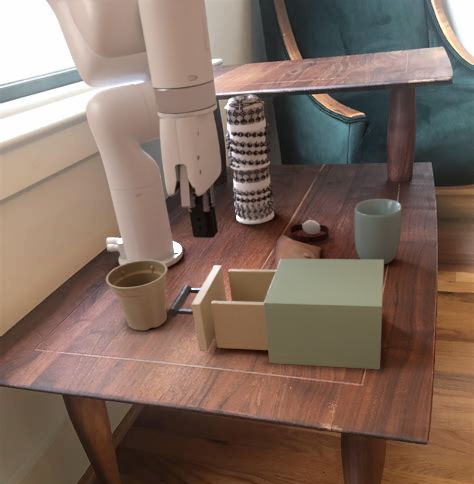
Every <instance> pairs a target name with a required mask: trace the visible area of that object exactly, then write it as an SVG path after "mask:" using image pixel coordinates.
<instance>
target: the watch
mask: <svg viewBox="0 0 474 484" xmlns="http://www.w3.org/2000/svg"><path fill="white" fill-rule="evenodd" d="M329 229H330V228H329V227H328V226H327V225H323V224H319V222H318V221H316V220H313V219H309V220H306V221H305V222H304V223H296V224H293V225H291V226H290V228H289V232H290V237H291V239H292V240H295V241H299V242H302V243H305V244H316V243H323V242H325V241H327V240H328V238H329V237H330V231H329ZM301 231H302V232H305V233H306V234H309V235H310V236H309V235H299V234H296V233H297V232H301ZM320 232H322V233H323V234H320V235H317V234H318V233H320ZM312 235H314V236H312Z"/></svg>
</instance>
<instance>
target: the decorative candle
mask: <svg viewBox="0 0 474 484" xmlns="http://www.w3.org/2000/svg"><path fill="white" fill-rule="evenodd" d="M264 105H265V102H264V101H263V100H261V98H260V97H259V96H258V95H256V94H241V95H235V96H232V97H231V98H229V99H228V101H227V104H226V105H225V106H224V107H223V109H224V110H225V111H226V120H227V121H226V129H227V134H226V135H225V136H224V138H225V141H226V146H225V147H226V149H227V150H228V153H227V156H228V162H229V163H228V165H229V166H230V168H231V169H232V173H233V174H232V175H233V180H232V181H233V187H232V192H233V193H234V194H233V199H234V200H235V201H234V204H233V205H234V208H235V210H234V211H235V212H234V213H235V215H236V221H238V223H240V224H244V225H258V224H262V223H266V222H268V221H270V220H273V218H274V217H275V212H274V211H275V207H274V202H275V201H274V197H272V196H274V192H273V190H272V188H273V183H272V182H271V176H270V174H269V173H270V171H269V165H270V164H271V157H269V156H268V155H269V153H271V148H270V147H269V145H270V144H271V141H270V140H269V139H267V138H266V137H267V136H269V135H270V134H271V132H270V130H269V129H267V128H268V127H270V123H269V122H266V117H265V107H264Z"/></svg>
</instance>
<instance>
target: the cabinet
mask: <svg viewBox="0 0 474 484" xmlns="http://www.w3.org/2000/svg"><path fill="white" fill-rule="evenodd" d="M384 267H385V265H384V260H377V259H359V258H357V259H356V258H353V259H352V258H320V259H280V262H279V264H278V267H277V270H276V272H275V275H274V278H273V280H272V283H271V285H270V288H269V291H268V293H267V296H266V299H265V301H264V311H265V322H266V332H267V342H268V350H267V351H268V352H267V353H268V360H269V364H280V365H294V366H295V365H296V366H311V367H312V366H313V367H329V368H330V367H331V368H347V369H367V370H381V355H382V353H381V352H382V328H383V325H382V324H383V301H384V300H383V299H384V298H383V297H384V275H385V274H384V271H385V269H384Z"/></svg>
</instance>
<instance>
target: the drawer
mask: <svg viewBox="0 0 474 484" xmlns="http://www.w3.org/2000/svg"><path fill="white" fill-rule="evenodd" d="M275 272H276V270H274V269H269V268H268V269H267V268H265V269H260V268H259V269H258V268H257V269H256V268H254V269H253V268H252V269H251V268H229V269H228V271H227V276H228V282H229V289H230V297H231V300H227V294H226V287H225V280H224V271H223V266H222V265H217V264H216V265H213V266H212V269H211V270H210V271H209V273H208V275H207V277H206V278H205V280H204V282H203V284H202V286H201V287H192V286H191V285H189V284H185V285H183V286H182V288H181V289H180V292H179V293H178V295H177V296H176V298H175V299H174V301H173V302H172V303H171V305H170V307H169V309H168V310H167V315H168V316H169V317H171V318H177V316H178V315H187V316H188V315H189V316H190V315H191V316H193V321H194V328H195V334H196V339H197V343H198V349H199V352H205V353H208V352H209V350H210V348H211V346H212V344H213V341H214V339H216V340H215V341H216V345H217V348H219V349H236V350H237V349H238V350H253V351H255V350H257V351H268V342H267V332H266V322H265V311H264V301H265V299H266V296H267V293H268V291H269V288H270V285H271V283H272V280H273V278H274V275H275ZM191 294H196V296H195V297H194V299H193V301H192V303H191V308H183V306H184V305H185V303H186V301H187V300H188V298H189V297H190V295H191Z"/></svg>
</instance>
